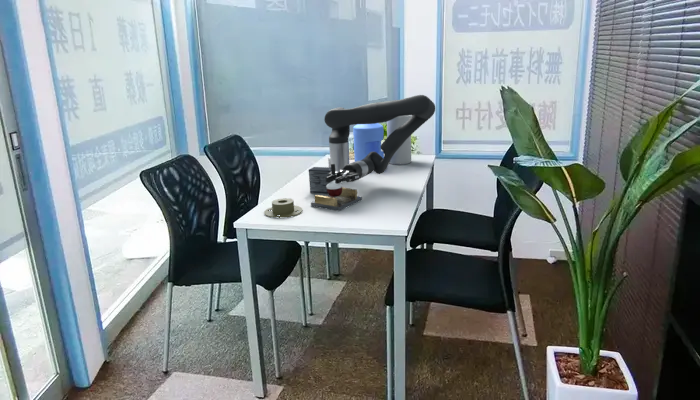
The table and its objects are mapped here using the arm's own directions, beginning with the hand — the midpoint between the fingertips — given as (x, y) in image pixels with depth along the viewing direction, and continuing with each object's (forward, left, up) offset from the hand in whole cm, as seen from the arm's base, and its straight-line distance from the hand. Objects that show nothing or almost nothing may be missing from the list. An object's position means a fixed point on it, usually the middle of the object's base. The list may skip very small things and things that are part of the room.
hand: (331, 180), depth 213 cm
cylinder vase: (-14, +79, -10) cm, 81 cm away
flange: (-12, -16, -11) cm, 23 cm away
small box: (-16, +15, -10) cm, 24 cm away
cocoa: (-1, +3, -7) cm, 8 cm away
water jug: (-24, +65, -10) cm, 70 cm away
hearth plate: (0, +3, -10) cm, 11 cm away
